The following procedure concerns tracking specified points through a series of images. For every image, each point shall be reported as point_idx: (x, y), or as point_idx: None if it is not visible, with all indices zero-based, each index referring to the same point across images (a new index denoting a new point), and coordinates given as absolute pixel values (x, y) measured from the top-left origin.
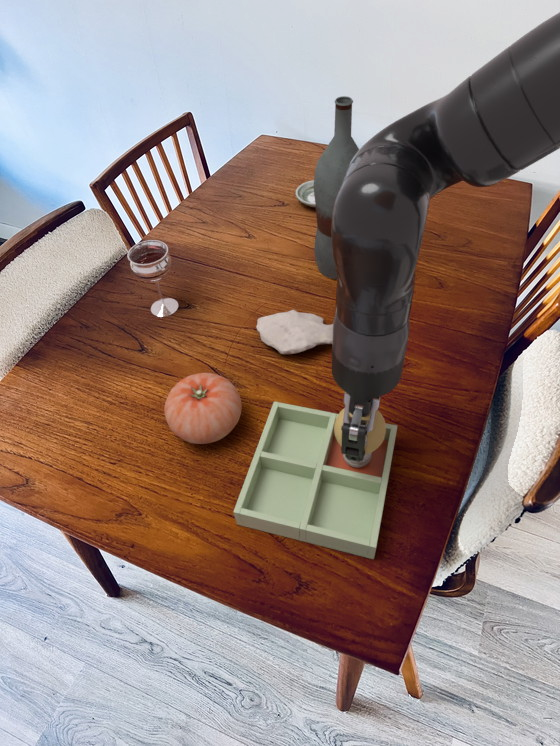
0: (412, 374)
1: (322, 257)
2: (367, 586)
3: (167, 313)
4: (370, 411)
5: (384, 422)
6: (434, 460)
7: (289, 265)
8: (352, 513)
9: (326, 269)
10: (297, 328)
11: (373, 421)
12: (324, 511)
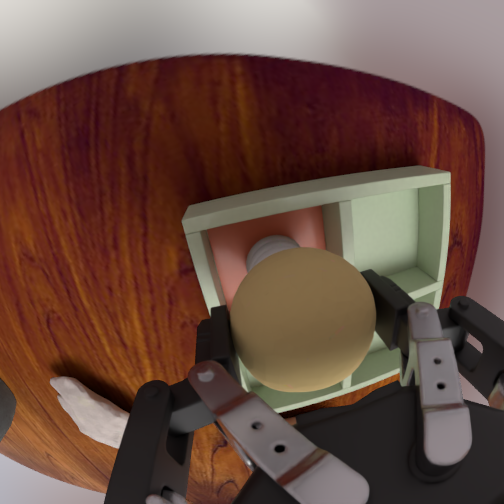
0: (35, 238)
1: (7, 421)
2: (445, 165)
3: None
4: (411, 395)
5: (285, 283)
6: (199, 112)
7: (37, 427)
8: (377, 221)
9: (10, 406)
10: (104, 431)
11: (456, 365)
12: (384, 262)
